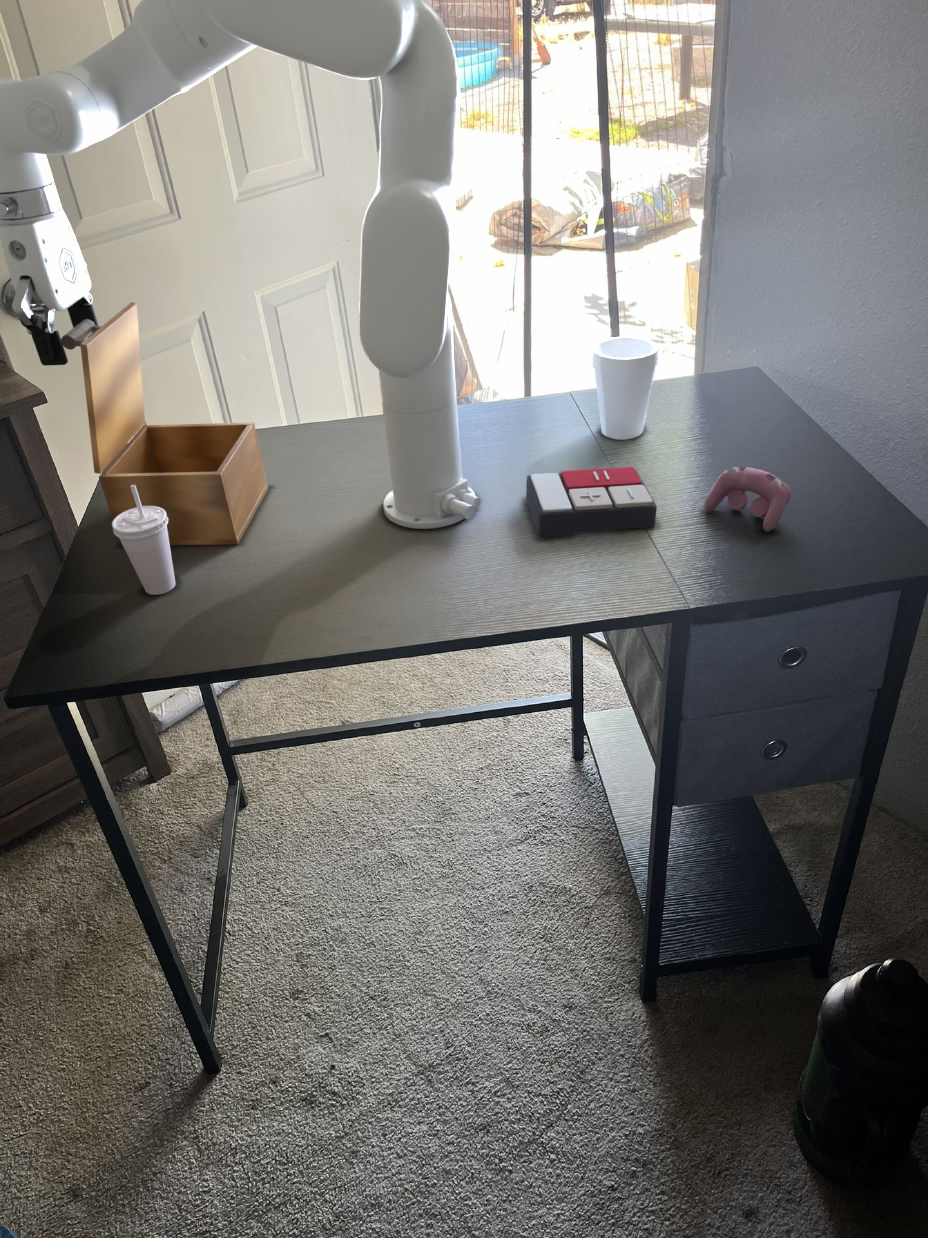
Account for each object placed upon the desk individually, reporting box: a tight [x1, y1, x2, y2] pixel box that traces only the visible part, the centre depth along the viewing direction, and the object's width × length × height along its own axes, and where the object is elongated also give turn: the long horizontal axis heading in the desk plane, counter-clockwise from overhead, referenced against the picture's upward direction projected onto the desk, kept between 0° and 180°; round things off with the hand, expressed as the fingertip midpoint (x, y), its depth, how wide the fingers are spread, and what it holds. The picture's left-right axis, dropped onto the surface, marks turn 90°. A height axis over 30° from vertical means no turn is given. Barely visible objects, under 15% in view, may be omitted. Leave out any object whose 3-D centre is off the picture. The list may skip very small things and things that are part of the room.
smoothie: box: [111, 485, 176, 596], centre depth 110 cm, size 6×6×14 cm
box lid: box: [60, 301, 146, 475], centre depth 118 cm, size 17×16×5 cm
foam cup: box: [591, 336, 659, 440], centre depth 137 cm, size 10×9×13 cm
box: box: [98, 421, 269, 547], centre depth 125 cm, size 16×16×10 cm
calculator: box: [525, 466, 658, 539], centre depth 120 cm, size 11×4×15 cm
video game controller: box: [703, 466, 792, 533], centre depth 117 cm, size 10×5×7 cm, turn 47°
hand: (72, 349), depth 115 cm, fingers open, 9 cm apart
